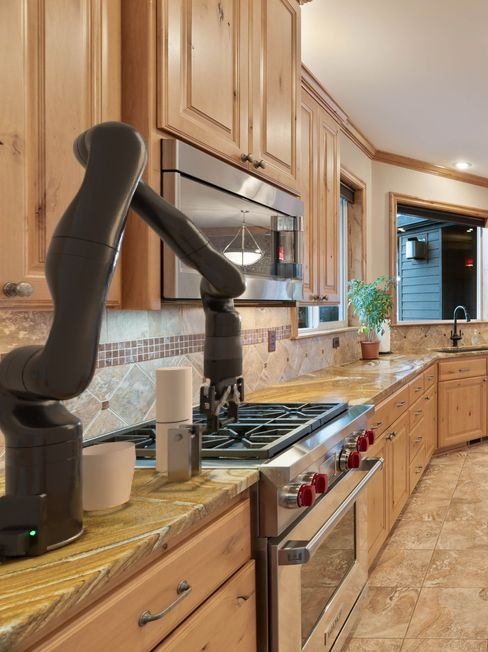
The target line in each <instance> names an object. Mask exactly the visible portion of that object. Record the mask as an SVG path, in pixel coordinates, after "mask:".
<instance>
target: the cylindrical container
mask: <svg viewBox="0 0 488 652" xmlns="http://www.w3.org/2000/svg"><path fill="white" fill-rule="evenodd" d="M181 424H193V366H189V365H188V366H186V365H185V366H184V365H183V366H180V365H179V366H165V367H157V368H155V471H157V472H162V473H164V472H165V473H168V429H174V428H179V425H181Z"/></svg>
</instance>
